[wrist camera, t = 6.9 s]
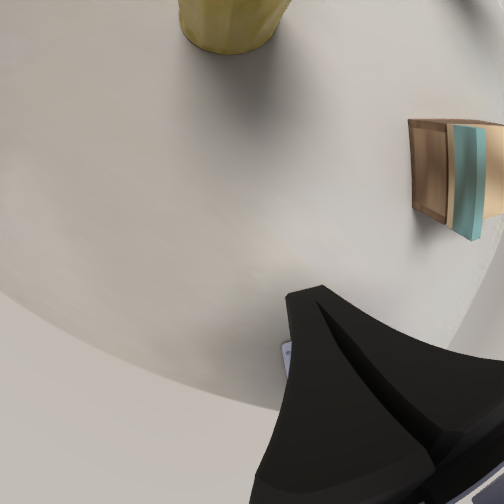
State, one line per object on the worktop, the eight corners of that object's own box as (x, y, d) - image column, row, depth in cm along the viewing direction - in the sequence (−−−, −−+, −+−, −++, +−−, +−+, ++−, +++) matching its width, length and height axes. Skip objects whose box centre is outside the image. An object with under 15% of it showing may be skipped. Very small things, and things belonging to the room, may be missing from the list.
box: (477, 192, 21) (507, 205, 17) (412, 207, 20) (444, 224, 17) (477, 120, 18) (509, 126, 14) (408, 119, 17) (443, 123, 14)
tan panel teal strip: (509, 207, 17) (530, 217, 15) (446, 226, 17) (471, 241, 14) (512, 126, 14) (535, 132, 12) (446, 123, 13) (476, 128, 11)
